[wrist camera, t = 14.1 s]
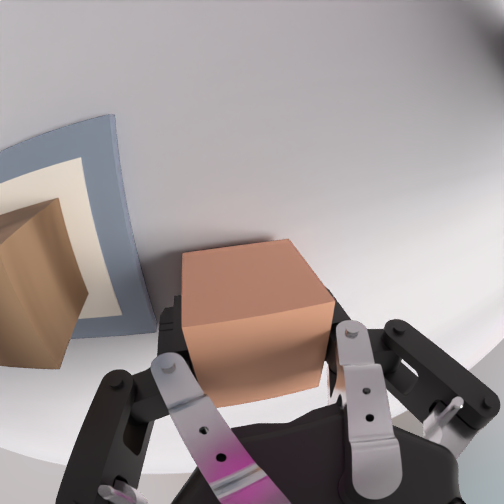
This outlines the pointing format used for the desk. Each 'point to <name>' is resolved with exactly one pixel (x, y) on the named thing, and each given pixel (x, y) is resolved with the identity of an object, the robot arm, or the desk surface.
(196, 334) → the terracotta cube
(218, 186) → the desk surface
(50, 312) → the walnut cube
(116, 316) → the blue bordered cream board
